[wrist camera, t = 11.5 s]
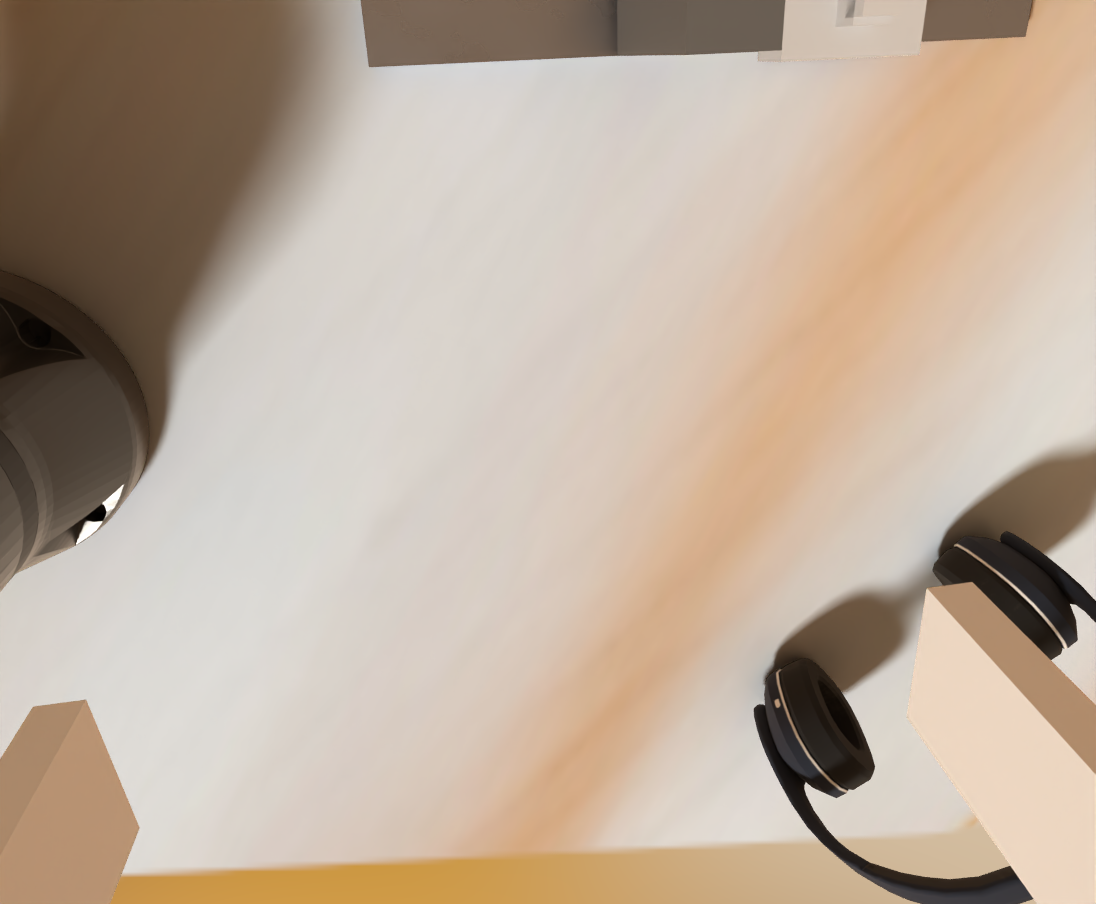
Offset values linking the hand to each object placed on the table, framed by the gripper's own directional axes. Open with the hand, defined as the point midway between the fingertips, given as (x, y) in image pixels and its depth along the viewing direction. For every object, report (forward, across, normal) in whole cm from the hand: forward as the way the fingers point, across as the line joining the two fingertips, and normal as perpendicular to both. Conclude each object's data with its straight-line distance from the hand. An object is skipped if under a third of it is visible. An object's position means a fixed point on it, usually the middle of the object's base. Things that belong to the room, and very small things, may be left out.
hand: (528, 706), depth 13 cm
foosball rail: (+31, -12, -10) cm, 35 cm away
